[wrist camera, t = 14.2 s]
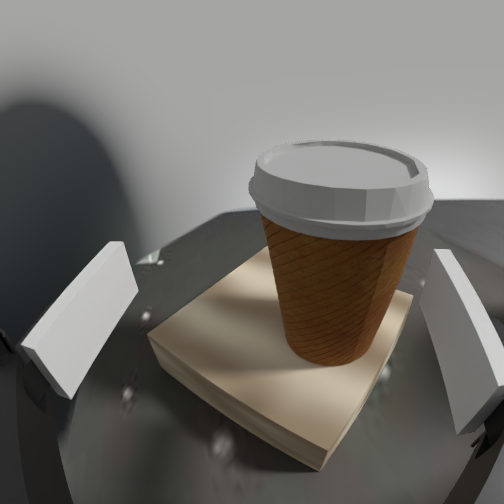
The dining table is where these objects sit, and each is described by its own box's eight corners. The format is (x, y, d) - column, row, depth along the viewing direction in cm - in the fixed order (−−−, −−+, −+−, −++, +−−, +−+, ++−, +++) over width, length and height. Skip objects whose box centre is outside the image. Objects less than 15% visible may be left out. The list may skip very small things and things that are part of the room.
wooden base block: (268, 278, 33) (267, 245, 31) (402, 329, 25) (413, 295, 23) (160, 366, 24) (146, 333, 22) (319, 471, 15) (328, 450, 13)
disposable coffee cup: (338, 415, 15) (381, 218, 9) (233, 331, 22) (207, 162, 15) (417, 325, 20) (458, 164, 14) (321, 273, 26) (325, 132, 20)
